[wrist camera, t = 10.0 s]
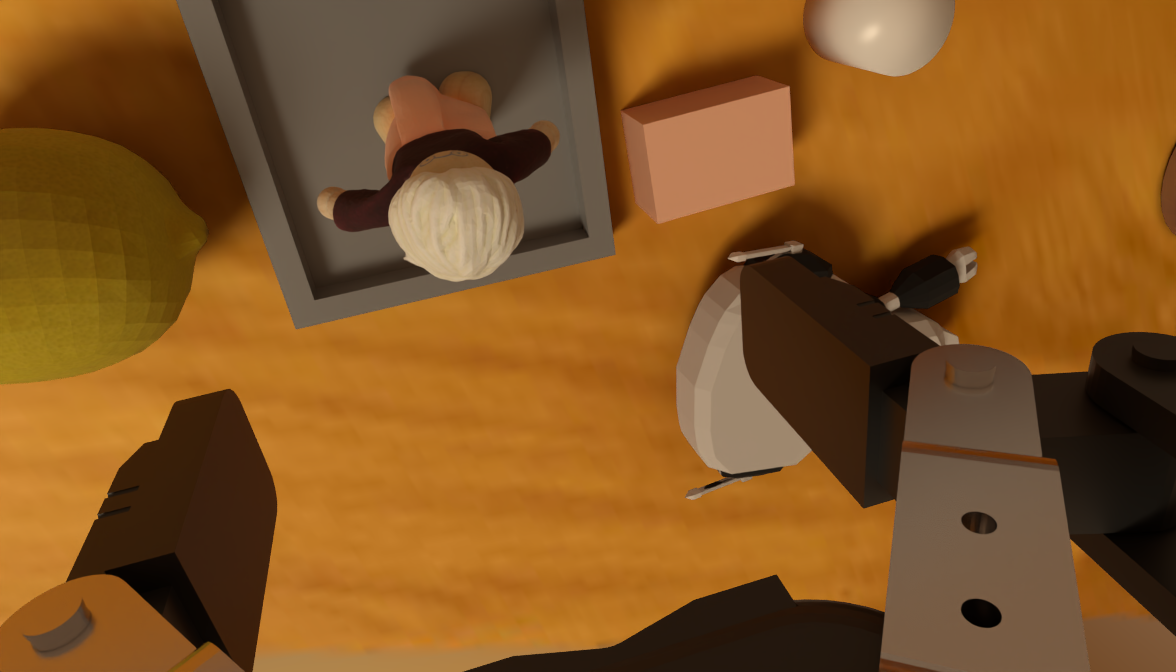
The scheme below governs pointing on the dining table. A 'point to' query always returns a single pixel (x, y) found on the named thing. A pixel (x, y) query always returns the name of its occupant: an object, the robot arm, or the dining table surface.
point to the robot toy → (722, 383)
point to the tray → (356, 151)
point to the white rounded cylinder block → (878, 32)
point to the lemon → (86, 254)
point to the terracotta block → (710, 147)
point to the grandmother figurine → (446, 177)
